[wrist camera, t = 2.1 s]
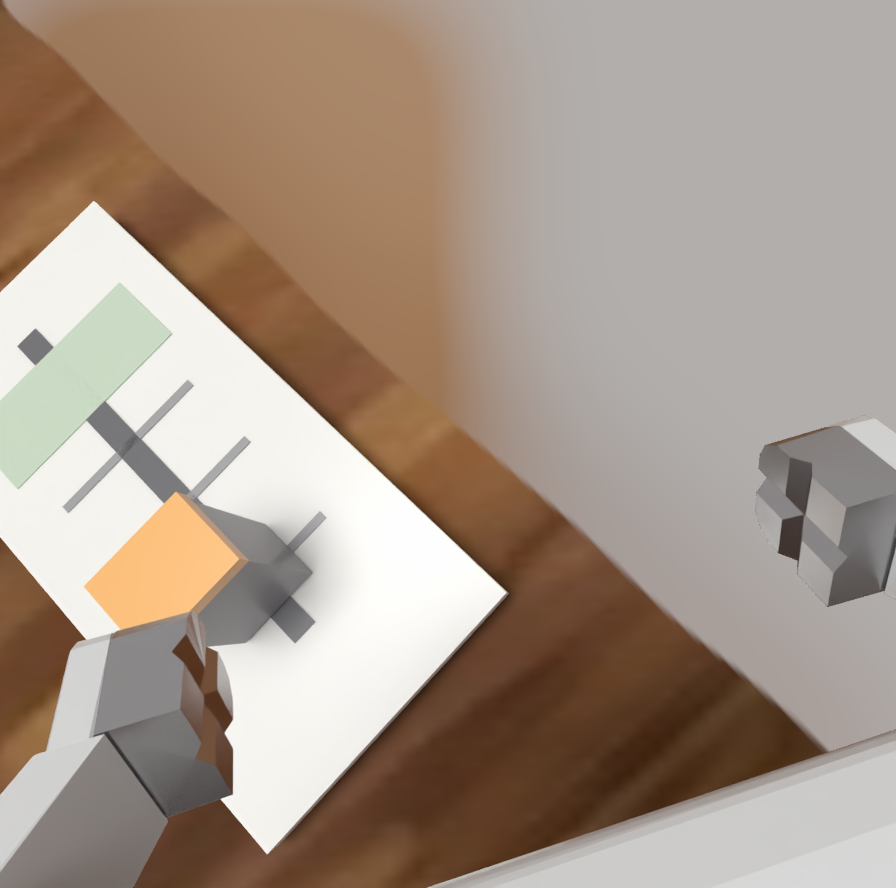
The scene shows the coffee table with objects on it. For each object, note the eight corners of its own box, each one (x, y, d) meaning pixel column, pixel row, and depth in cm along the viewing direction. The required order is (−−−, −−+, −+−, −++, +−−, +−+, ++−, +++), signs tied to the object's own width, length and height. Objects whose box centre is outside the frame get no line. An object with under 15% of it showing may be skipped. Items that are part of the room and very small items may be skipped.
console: (509, 593, 33) (506, 592, 31) (284, 839, 32) (266, 854, 30) (116, 221, 39) (92, 199, 37) (-80, 413, 38) (-115, 402, 36)
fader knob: (315, 572, 32) (239, 559, 24) (245, 646, 31) (144, 657, 23) (265, 520, 32) (175, 491, 24) (196, 592, 32) (83, 586, 24)
